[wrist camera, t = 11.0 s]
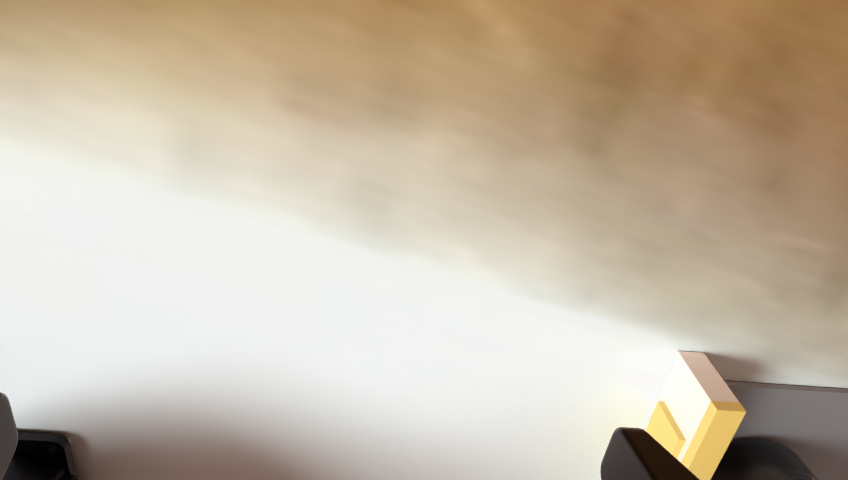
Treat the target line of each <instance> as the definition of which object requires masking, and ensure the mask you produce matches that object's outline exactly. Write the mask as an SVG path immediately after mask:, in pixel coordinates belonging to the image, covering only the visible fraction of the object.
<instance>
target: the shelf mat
mask: <svg viewBox="0 0 848 480" xmlns="http://www.w3.org/2000/svg"><path fill="white" fill-rule="evenodd" d="M724 382H725V383H726V384H727V386H728V387H729V388H730V390H731V391H732V393H733V394H734V395H735V397H736V398H737V400H738V401H739V402H740V404H741V405H742V406H743V408H744V409H745V411H746V414H745V415H744V417H743V419H742V421H741V423H740V425H739V427H738V429H737V431H736V433H735V434H734V436H733V438H732V440H731V441H733V440H739V439H749V438H752V439H765V440H770V441H774V442H777V443H779V444H782V445H784V446H786V447H788V448H789V449H791V450H792V451H793V452H795V453H796V454H797V455H798V456H799V457H800V458H801V460H802V461H803V462H804V463H805V464H806V466H807V467H808V468H809V469H810V471H811V472H812V473H813V474H814V476H815V477H816V478H817V479H818V480H848V389H840V388H824V387H809V386H794V385H778V384H763V383H748V382H732V381H724Z"/></svg>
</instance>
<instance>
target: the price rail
mask: <svg viewBox="0 0 848 480" xmlns="http://www.w3.org/2000/svg"><path fill="white" fill-rule="evenodd" d="M745 414H746V411H745V409H744V408H743V406H742V405H741V404H740V402H739V401H738V400H737V398H736V397H735V395H734V394H733V393H732V391H731V390H730V388H729V387H728V386H727V384H726V383H725V382H724V380H723V379H722V377H721V376H720V375H719V373H718V372H717V370H716V369H715V368H714V366H713V365H712V364H711V362H710V361H709V359H708V358H707V357H706V355H705V354H704V353H699V352H684V351H678V352H677V354H676V357H675V359H674V361H673V364H672V366H671V368H670V371H669V373H668V375H667V378H666V380H665V383H664V385H663V387H662V390H661V392H660V394H659V397H658V399H657V401H656V404H655V406H654V408H653V411H652V413H651V415H650V418H649V420H648V422H647V425H646V427H645V431H646V432H647V433H649V434H650V435H651V436H652V437H653V438H654V439H655V440H656V441H658V442H659V443H660V444H661V445H662V446H663V447H664V448H665V449H666V450H667V451H669V452H670V453H671V454H672V455H673V456H674V457H675V458H676V459H677V460H679V461H680V462H681V463H682V464H683V465H684V466H685V467H686V468H687V469H689V470H690V471H691V472H692V473H693V474H694V475H695V476H696V477H697V478H699V479H700V480H711V478H712V476H713V474H714V472H715V470H716V468H717V467H718V465H719V463H720V461H721V459H722V457H723V455H724V453H725V451H726V450H727V448H728V446H729V444H730V442H731V440H732V438H733V436H734V434H735V433H736V431H737V429H738V427H739V425H740V423H741V421H742V419H743V417H744V415H745Z"/></svg>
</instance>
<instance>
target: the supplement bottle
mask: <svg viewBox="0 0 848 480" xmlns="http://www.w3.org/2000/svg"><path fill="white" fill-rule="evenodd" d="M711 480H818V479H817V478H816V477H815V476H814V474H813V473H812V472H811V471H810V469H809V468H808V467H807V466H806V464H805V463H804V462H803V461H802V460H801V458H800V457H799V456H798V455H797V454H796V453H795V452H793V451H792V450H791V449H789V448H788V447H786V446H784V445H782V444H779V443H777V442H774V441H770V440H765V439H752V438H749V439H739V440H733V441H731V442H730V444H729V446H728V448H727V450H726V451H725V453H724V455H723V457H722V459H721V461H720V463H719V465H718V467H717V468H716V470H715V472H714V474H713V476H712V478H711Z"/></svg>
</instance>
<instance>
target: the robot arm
mask: <svg viewBox="0 0 848 480" xmlns="http://www.w3.org/2000/svg"><path fill="white" fill-rule="evenodd" d="M0 480H79V478H78V477H77V475H76V472H75V468H74V463H73V459H72V454H71V450H70V445H69V442H68V440H67V439H66V438H65V437H63V436H61V435H58V434H44V433H23V432H18V431H17V428H16V424H15V421H14V417H13V413H12V410H11V406H10V403H9V400H8V397H7V396H6V395H5V394H4V393H1V392H0ZM601 480H700V479H699V478H697V477H696V476H695V475H694V474H693V473H692V472H691V471H690V470H689V469H687V468H686V467H685V466H684V465H683V464H682V463H681V462H680V461H679V460H677V459H676V458H675V457H674V456H673V455H672V454H671V453H670V452H669V451H667V450H666V449H665V448H664V447H663V446H662V445H661V444H660V443H659V442H658V441H656V440H655V439H654V438H653V437H652V436H651V435H650V434H649V433H647V432H646V431H645V430H643V429H640V428H626V427H620V428H617V429H616V430H615V431H614V433H613V435H612V437H611V440H610V442H609V445H608V447H607V450H606V452H605V455H604V457H603V460H602V463H601Z"/></svg>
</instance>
